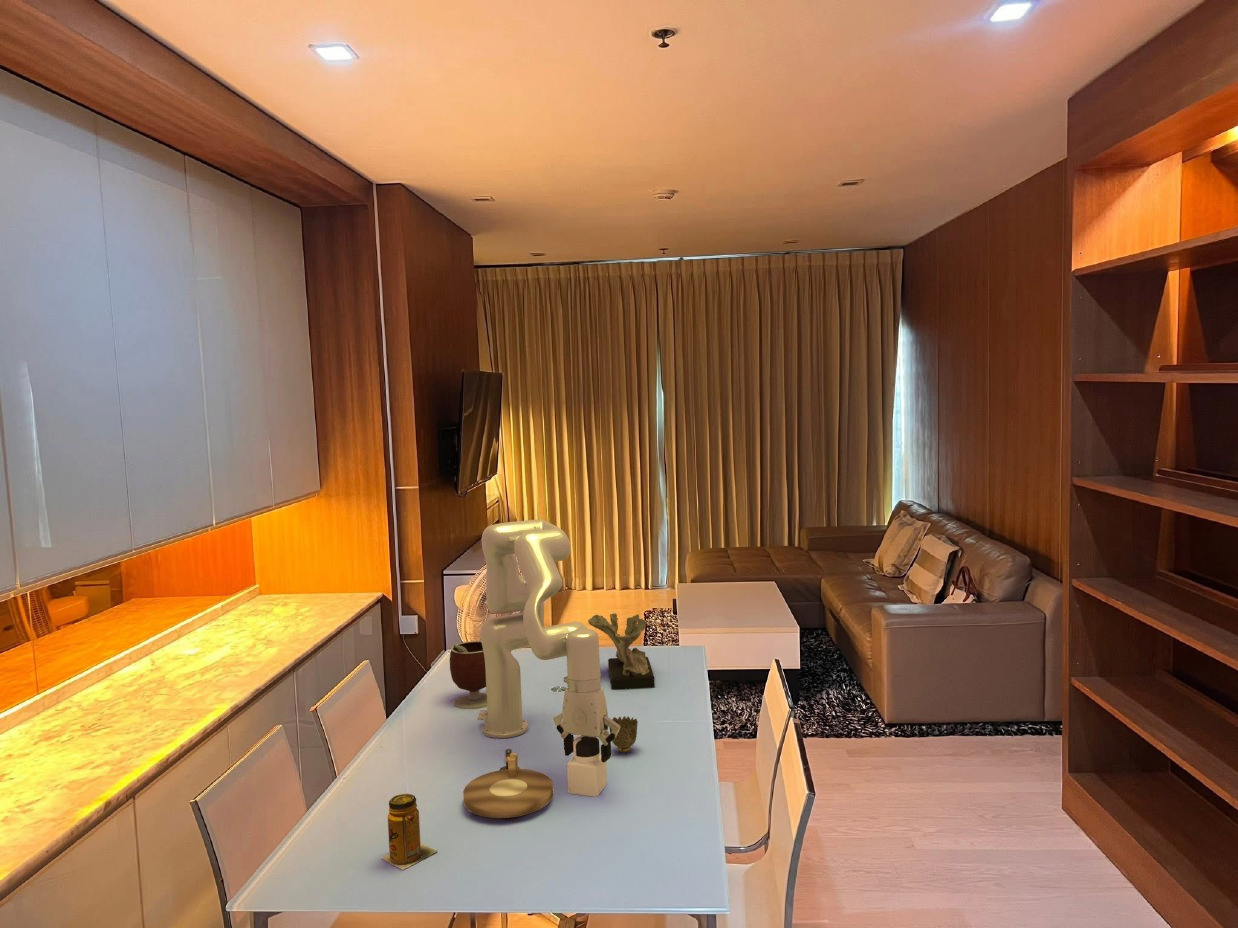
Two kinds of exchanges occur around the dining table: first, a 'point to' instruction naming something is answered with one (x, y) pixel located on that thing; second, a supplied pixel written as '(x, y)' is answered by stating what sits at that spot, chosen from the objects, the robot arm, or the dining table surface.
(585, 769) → the medicine bottle
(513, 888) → the dining table surface
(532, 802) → the disc
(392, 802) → the condiment
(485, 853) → the dining table surface
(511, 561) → the robot arm
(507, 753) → the joystick
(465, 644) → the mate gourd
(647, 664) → the coral
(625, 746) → the brown textured pot
